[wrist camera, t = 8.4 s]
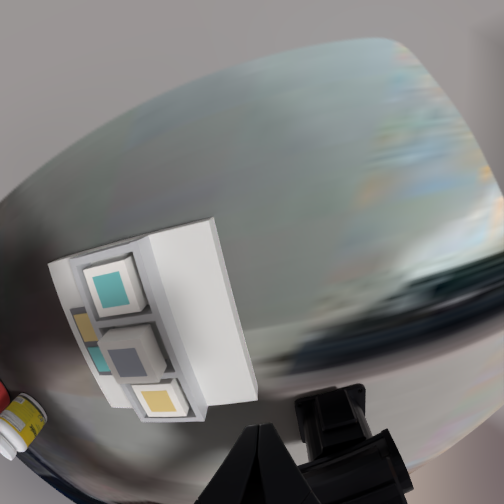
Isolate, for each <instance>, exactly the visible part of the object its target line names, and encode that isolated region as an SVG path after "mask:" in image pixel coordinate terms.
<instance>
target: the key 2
mask: <svg viewBox="0 0 504 504" xmlns="http://www.w3.org/2000/svg"><path fill="white" fill-rule="evenodd" d="M131 386H132V388H133V390H134V392H135V394H136V396H137V398H138V399H139V401H140V403H141V405H142V407H143V408H144V410H145V412H146V413H147V415H148V417H179V416H187V413H188V410H189V407H190V403H189V401H188V399H187V397H186V394H185V392H184V390H183V388H182V386H181V383H180V381H179V379H178V378H168V379H160V382H159V383H139V384H131Z"/></svg>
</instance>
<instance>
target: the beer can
mask: <svg viewBox="0 0 504 504" xmlns="http://www.w3.org/2000/svg"><path fill="white" fill-rule="evenodd" d="M9 403H10V397H9V393H8V391H7V389H6V387H5V386H4V384H3V383H2V381H1V380H0V413H1V412H2V411H3V410H4V409H5V408H6V407H7V406H8V405H9Z"/></svg>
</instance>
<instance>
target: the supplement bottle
mask: <svg viewBox="0 0 504 504" xmlns="http://www.w3.org/2000/svg"><path fill="white" fill-rule="evenodd" d="M46 422H47V416H46V413H45V411H44V410H43V408H42V407H41V406H40V404H39V403H38V402H37V401H36V400H34V399H33V398H32V397H31V396H29V395H27V394H25V393H21V394H19V395H18V396H17V397H16V398H15V399H14V400H13V401H12V403H11V404H10V405H9V406H8V407H7V408H6V409H5V410H4V411H3V412H2V414H1V415H0V453H1V454H2V455H3V456H4V457H6V458H8V459H9V460H12V459H13V458H14V457H15V456H16V454H17V453H16V451H19V452H24V451H26V449H27V448H28V447H29V445H30V444H31V442H32V441H33V440H34V438H35V437H36V436H37V434H38V433H39V431H40V430H41V429H42V427H43V426H44V425H45V423H46Z"/></svg>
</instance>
